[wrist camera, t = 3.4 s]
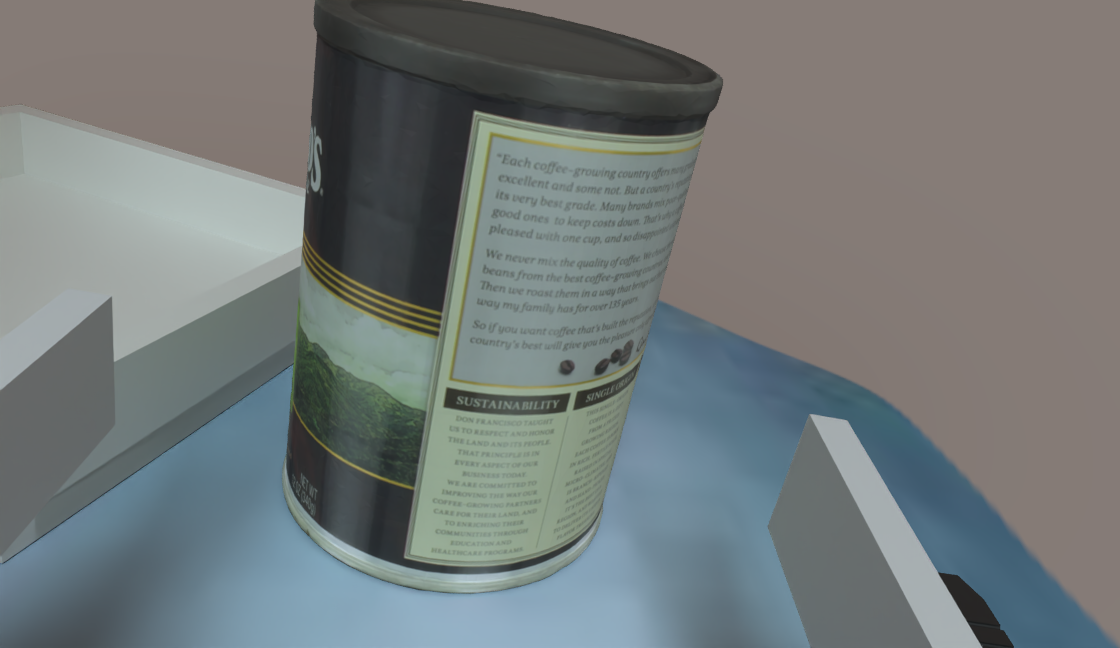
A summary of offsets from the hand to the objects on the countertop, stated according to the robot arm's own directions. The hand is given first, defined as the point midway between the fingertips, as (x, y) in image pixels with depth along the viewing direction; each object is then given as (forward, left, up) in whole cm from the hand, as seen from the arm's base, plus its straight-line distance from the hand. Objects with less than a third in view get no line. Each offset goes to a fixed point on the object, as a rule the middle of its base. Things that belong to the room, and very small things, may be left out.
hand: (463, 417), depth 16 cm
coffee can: (-3, +8, -8) cm, 12 cm away
